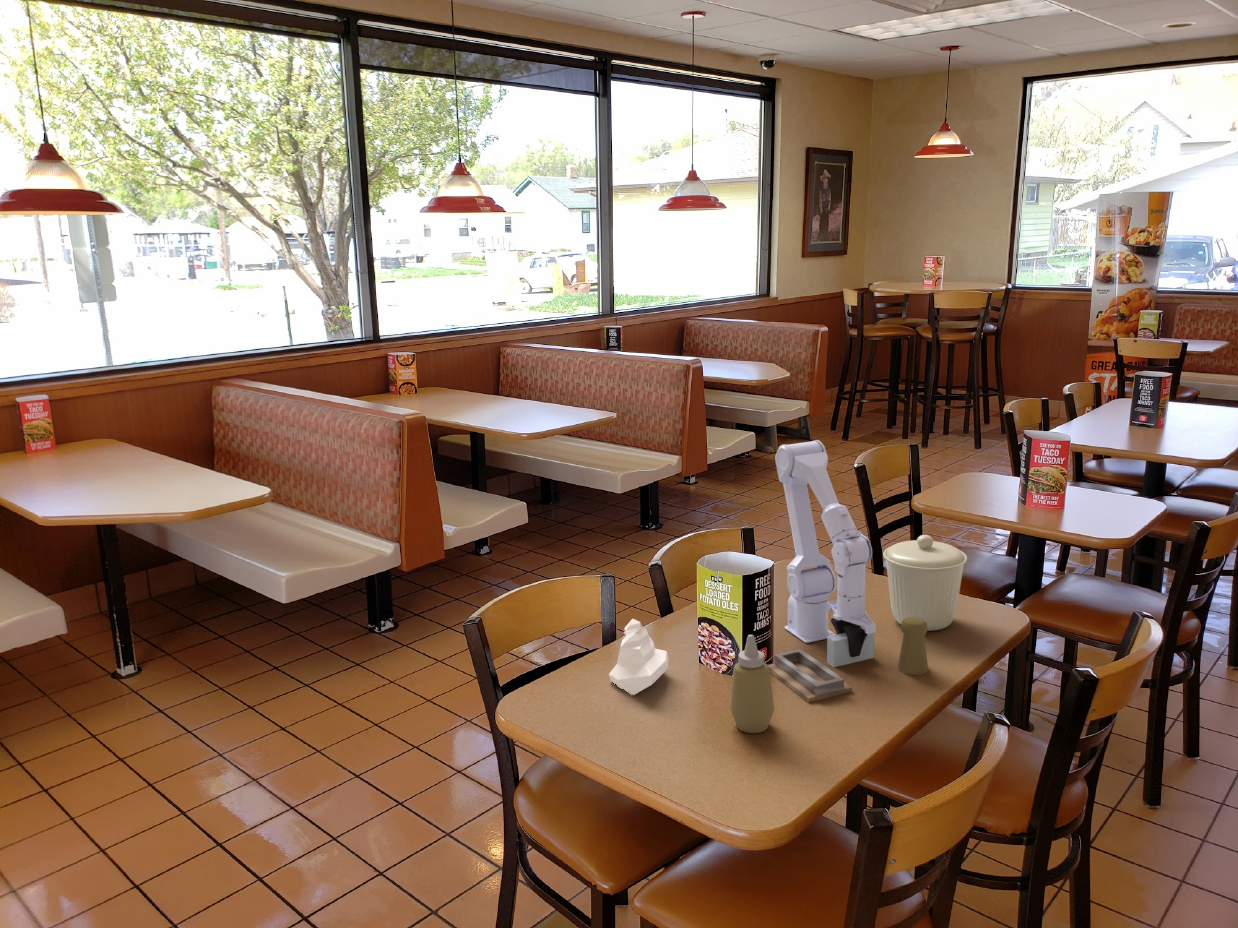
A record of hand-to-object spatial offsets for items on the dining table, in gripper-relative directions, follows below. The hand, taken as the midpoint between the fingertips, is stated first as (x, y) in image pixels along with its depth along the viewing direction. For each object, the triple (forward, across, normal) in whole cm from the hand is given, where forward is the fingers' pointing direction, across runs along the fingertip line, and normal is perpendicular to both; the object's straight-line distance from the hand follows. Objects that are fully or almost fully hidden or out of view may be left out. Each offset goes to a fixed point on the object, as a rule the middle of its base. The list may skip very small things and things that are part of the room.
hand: (850, 652), depth 194 cm
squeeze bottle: (+2, +15, -32) cm, 35 cm away
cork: (+2, +9, +9) cm, 13 cm away
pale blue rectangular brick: (+2, 0, 0) cm, 2 cm away
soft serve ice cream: (+2, -11, -44) cm, 45 cm away
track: (+2, +4, -13) cm, 14 cm away
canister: (+2, -9, +26) cm, 28 cm away
